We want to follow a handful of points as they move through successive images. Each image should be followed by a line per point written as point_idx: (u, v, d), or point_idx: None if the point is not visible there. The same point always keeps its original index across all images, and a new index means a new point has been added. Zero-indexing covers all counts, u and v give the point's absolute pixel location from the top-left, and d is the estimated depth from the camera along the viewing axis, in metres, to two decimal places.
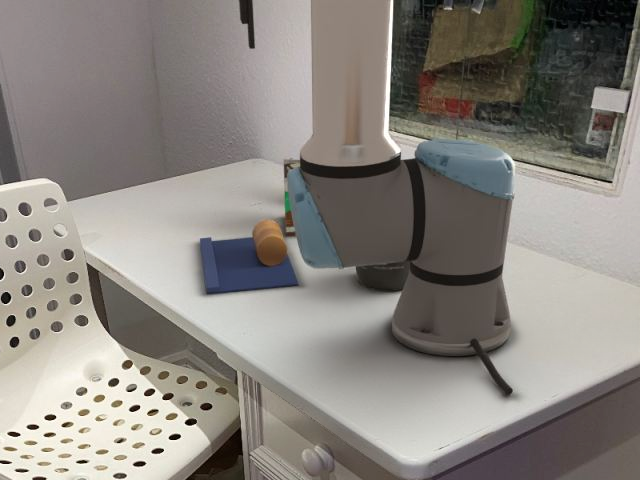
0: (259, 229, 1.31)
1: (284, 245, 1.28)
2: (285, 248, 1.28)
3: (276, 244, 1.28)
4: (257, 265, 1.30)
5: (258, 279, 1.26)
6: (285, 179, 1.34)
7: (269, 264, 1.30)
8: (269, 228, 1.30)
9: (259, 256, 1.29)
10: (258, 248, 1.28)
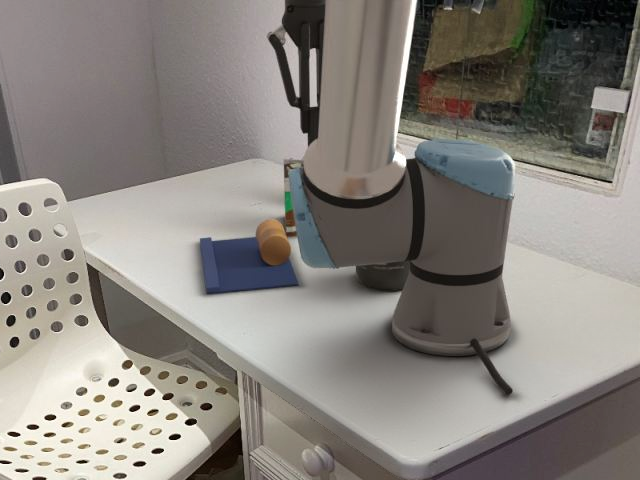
0: (266, 227, 1.31)
1: (288, 248, 1.28)
2: (289, 251, 1.29)
3: (281, 245, 1.28)
4: (257, 265, 1.30)
5: (258, 279, 1.26)
6: (285, 179, 1.34)
7: (270, 263, 1.29)
8: (276, 228, 1.30)
9: (262, 253, 1.28)
10: (263, 244, 1.28)
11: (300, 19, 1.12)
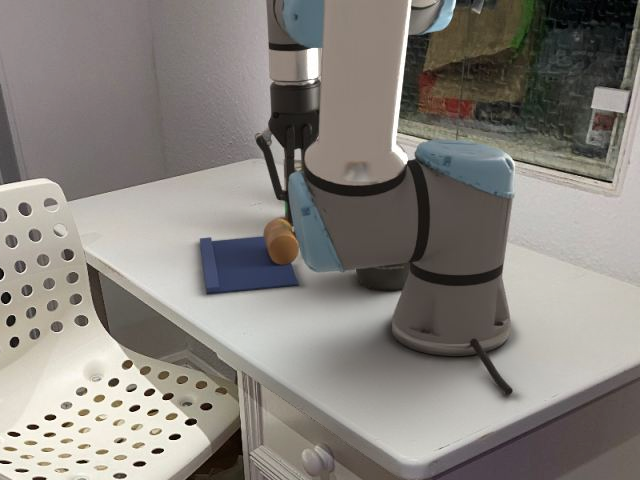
0: (282, 224, 1.31)
1: (296, 254, 1.29)
2: (294, 257, 1.29)
3: (291, 248, 1.28)
4: (257, 265, 1.30)
5: (258, 279, 1.26)
6: None
7: (272, 258, 1.29)
8: (291, 230, 1.30)
9: (271, 245, 1.28)
10: (276, 238, 1.27)
11: (285, 123, 1.20)
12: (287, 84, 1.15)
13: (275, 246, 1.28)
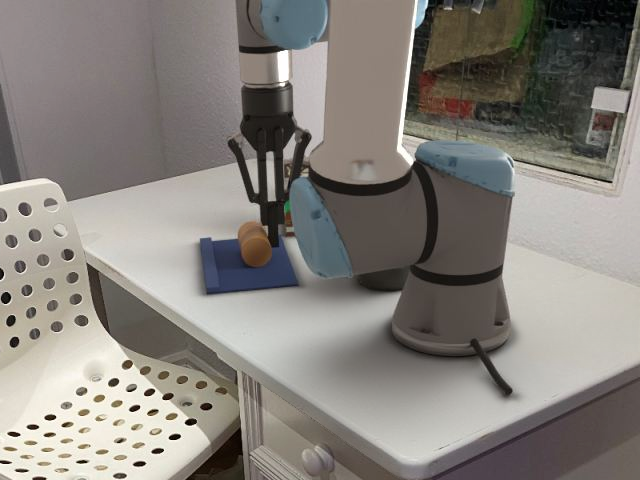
0: (239, 244, 1.32)
1: (258, 239, 1.27)
2: (261, 240, 1.27)
3: (253, 245, 1.27)
4: None
5: (258, 279, 1.26)
6: (285, 179, 1.34)
7: (266, 261, 1.29)
8: (241, 237, 1.30)
9: (254, 266, 1.29)
10: (246, 262, 1.29)
11: (256, 126, 1.20)
12: (257, 87, 1.15)
13: (254, 261, 1.29)
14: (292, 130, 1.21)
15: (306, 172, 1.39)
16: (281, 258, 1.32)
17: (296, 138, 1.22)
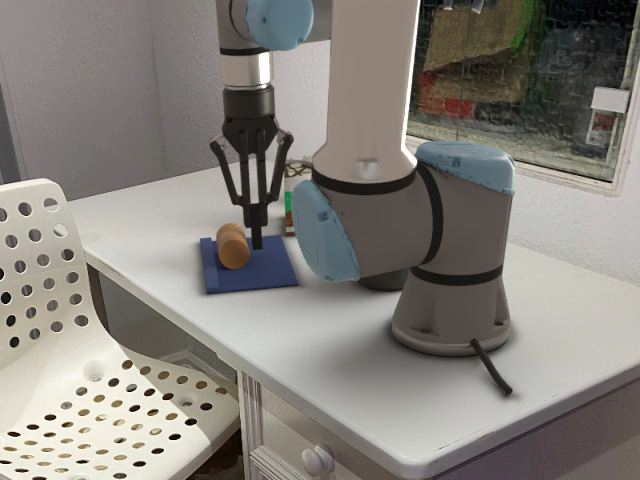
0: None
1: (221, 252, 1.28)
2: (222, 249, 1.27)
3: (227, 257, 1.28)
4: (257, 265, 1.30)
5: (258, 279, 1.26)
6: (285, 179, 1.34)
7: (244, 245, 1.27)
8: None
9: (247, 258, 1.29)
10: (243, 265, 1.29)
11: (238, 128, 1.20)
12: (238, 89, 1.15)
13: (243, 257, 1.28)
14: (274, 132, 1.20)
15: (306, 172, 1.39)
16: (281, 258, 1.32)
17: (278, 140, 1.22)
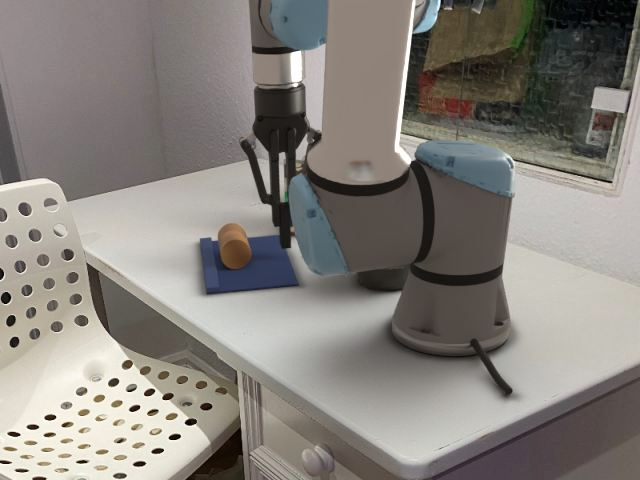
0: None
1: (223, 250, 1.27)
2: (224, 247, 1.27)
3: (228, 257, 1.28)
4: (257, 265, 1.30)
5: (258, 279, 1.26)
6: (285, 179, 1.34)
7: (246, 246, 1.27)
8: None
9: (248, 259, 1.29)
10: (244, 265, 1.29)
11: (269, 127, 1.20)
12: (271, 87, 1.15)
13: (244, 258, 1.29)
14: (305, 131, 1.21)
15: None
16: (281, 258, 1.32)
17: (308, 139, 1.22)
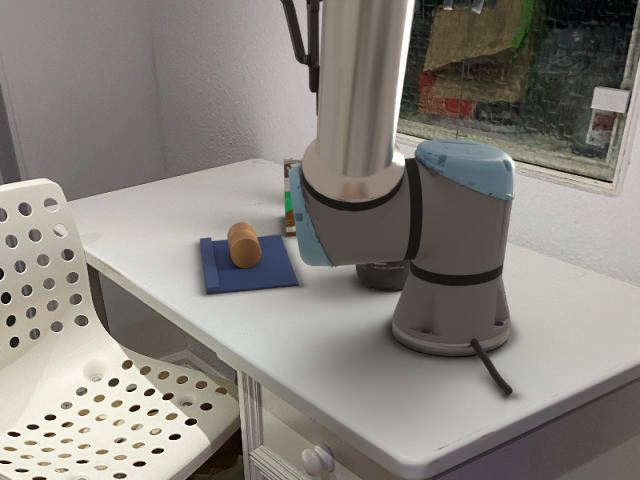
0: None
1: (238, 242, 1.27)
2: (241, 241, 1.27)
3: (238, 251, 1.28)
4: (257, 265, 1.30)
5: (258, 279, 1.26)
6: (285, 179, 1.34)
7: (259, 253, 1.28)
8: (229, 249, 1.31)
9: (252, 265, 1.29)
10: (245, 267, 1.29)
11: None
12: None
13: (250, 261, 1.29)
14: None
15: None
16: (281, 258, 1.32)
17: None
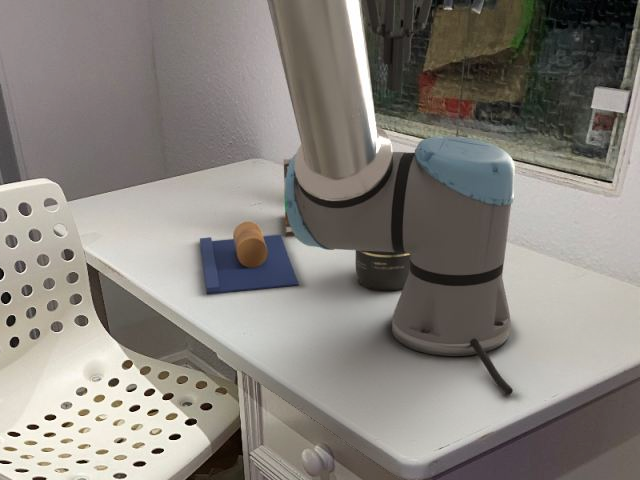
0: None
1: (250, 240, 1.27)
2: (253, 239, 1.27)
3: (246, 247, 1.28)
4: None
5: (258, 279, 1.26)
6: (285, 179, 1.34)
7: (264, 258, 1.29)
8: (235, 242, 1.31)
9: (253, 266, 1.29)
10: (245, 265, 1.29)
11: None
12: None
13: (253, 262, 1.29)
14: None
15: None
16: (281, 258, 1.32)
17: None
